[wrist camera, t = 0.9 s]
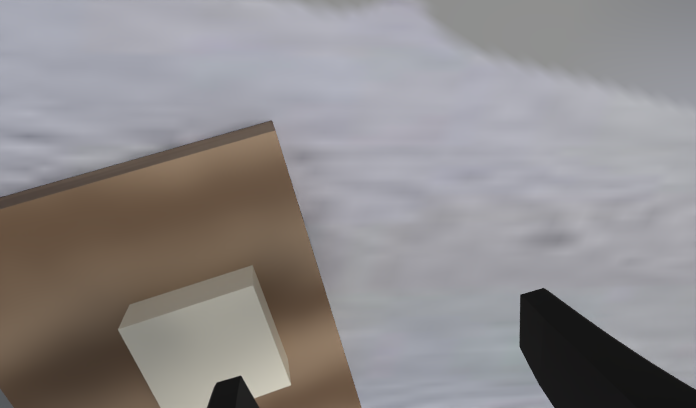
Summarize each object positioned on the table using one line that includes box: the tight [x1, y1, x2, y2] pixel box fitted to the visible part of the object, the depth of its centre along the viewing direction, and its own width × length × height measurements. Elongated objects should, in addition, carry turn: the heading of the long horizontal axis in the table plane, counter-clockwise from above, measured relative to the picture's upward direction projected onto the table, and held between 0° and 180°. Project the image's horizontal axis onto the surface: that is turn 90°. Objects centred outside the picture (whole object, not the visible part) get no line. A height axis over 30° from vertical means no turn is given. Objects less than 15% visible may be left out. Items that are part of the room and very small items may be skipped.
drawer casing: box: [0, 121, 361, 408], centre depth 23 cm, size 18×16×3 cm
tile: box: [118, 265, 291, 408], centre depth 21 cm, size 6×6×2 cm
